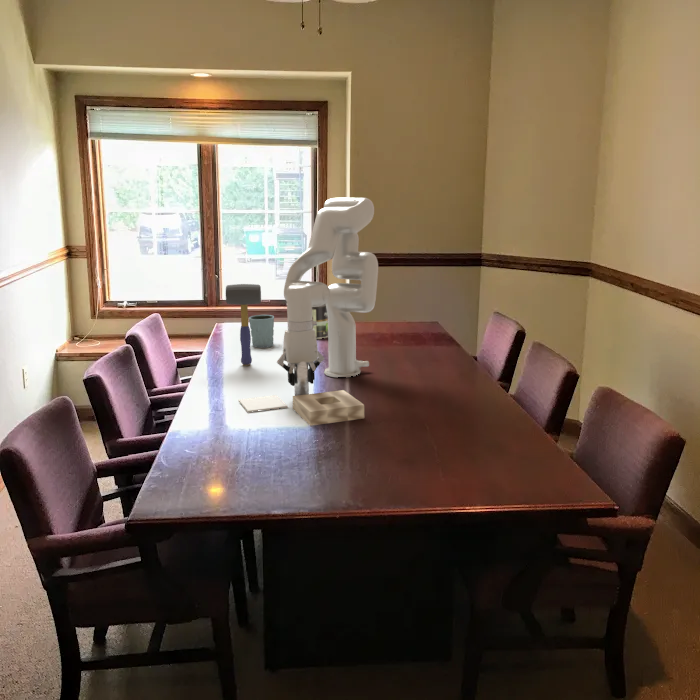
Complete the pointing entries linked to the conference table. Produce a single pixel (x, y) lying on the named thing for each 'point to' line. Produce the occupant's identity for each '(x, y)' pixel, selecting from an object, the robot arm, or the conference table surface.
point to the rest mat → (262, 403)
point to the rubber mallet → (244, 312)
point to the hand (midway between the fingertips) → (301, 383)
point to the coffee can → (320, 321)
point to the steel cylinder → (301, 379)
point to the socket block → (328, 407)
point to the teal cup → (262, 330)
